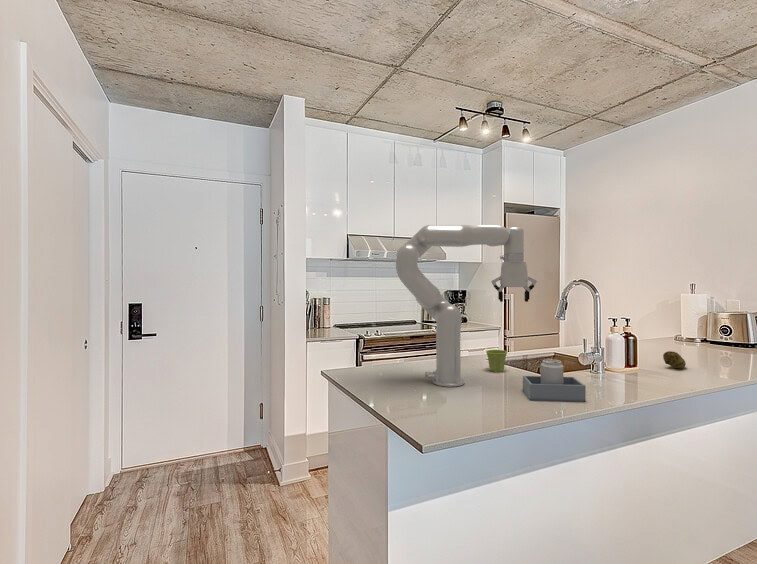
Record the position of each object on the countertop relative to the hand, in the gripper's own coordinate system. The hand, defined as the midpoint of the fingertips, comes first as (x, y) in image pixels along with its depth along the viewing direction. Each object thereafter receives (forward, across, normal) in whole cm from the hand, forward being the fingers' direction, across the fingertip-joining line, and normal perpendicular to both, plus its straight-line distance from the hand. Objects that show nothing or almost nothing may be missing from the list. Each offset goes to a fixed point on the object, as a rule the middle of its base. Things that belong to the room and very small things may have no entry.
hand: (513, 301), depth 167 cm
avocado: (+32, +76, +31) cm, 88 cm away
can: (+32, +10, -18) cm, 38 cm away
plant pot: (+32, -4, +19) cm, 38 cm away
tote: (+32, +10, -18) cm, 38 cm away
